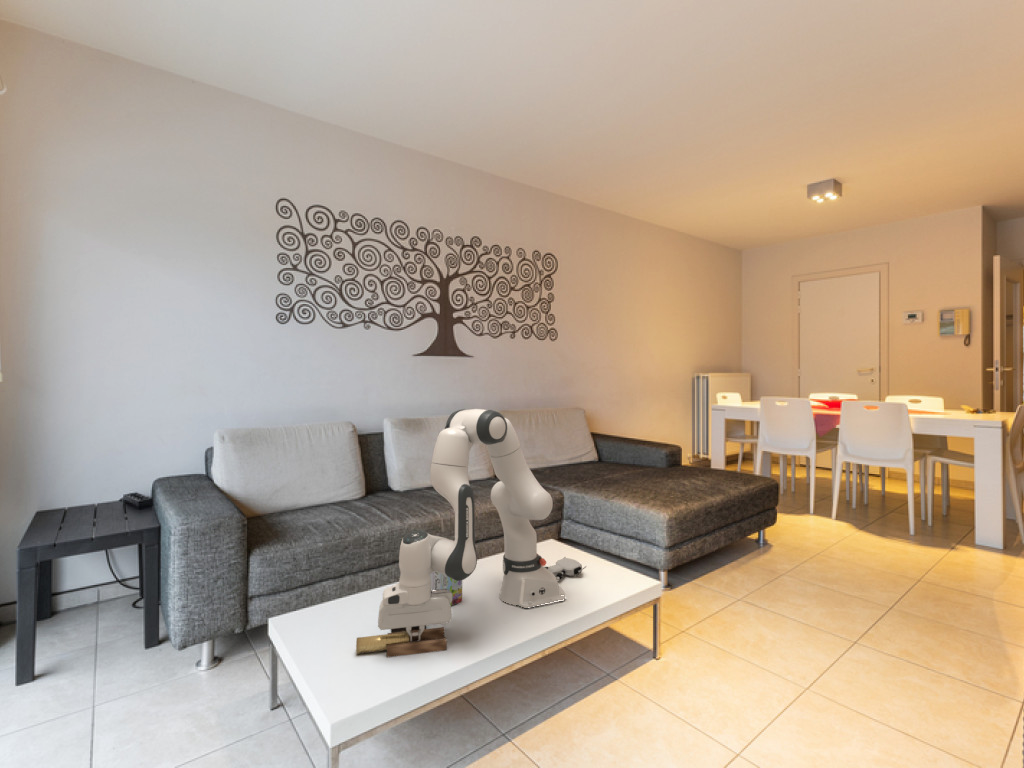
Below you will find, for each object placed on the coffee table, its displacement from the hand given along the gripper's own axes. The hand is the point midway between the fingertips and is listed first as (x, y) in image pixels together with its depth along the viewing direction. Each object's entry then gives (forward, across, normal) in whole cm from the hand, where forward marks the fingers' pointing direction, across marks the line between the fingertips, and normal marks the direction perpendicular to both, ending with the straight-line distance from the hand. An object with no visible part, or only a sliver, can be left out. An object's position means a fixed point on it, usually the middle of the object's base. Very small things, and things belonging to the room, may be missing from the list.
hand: (415, 640), depth 142 cm
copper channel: (+2, 0, 0) cm, 2 cm away
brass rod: (+2, +9, 0) cm, 9 cm away
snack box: (+2, -8, -32) cm, 33 cm away
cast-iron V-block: (+2, +2, -10) cm, 10 cm away
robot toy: (+2, -57, -39) cm, 69 cm away
